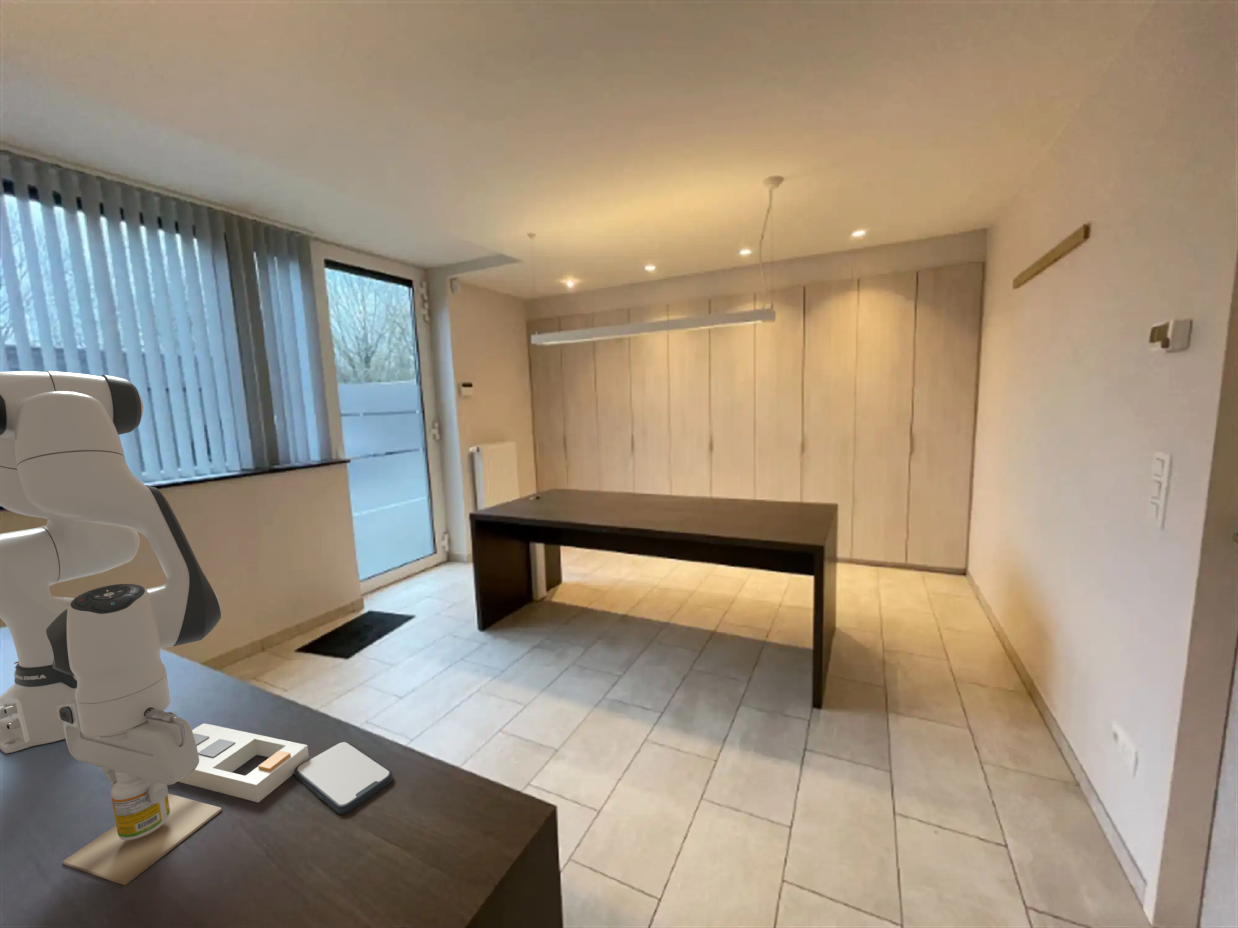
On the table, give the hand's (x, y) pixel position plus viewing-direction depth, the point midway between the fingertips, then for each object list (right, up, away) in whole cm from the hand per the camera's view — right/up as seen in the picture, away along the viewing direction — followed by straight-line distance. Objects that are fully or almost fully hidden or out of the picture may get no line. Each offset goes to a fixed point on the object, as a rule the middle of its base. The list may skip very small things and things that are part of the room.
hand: (140, 794), depth 69 cm
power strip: (+2, -5, +14) cm, 15 cm away
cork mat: (0, -6, +1) cm, 6 cm away
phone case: (+22, -5, +11) cm, 26 cm away
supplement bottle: (0, -5, +1) cm, 5 cm away
